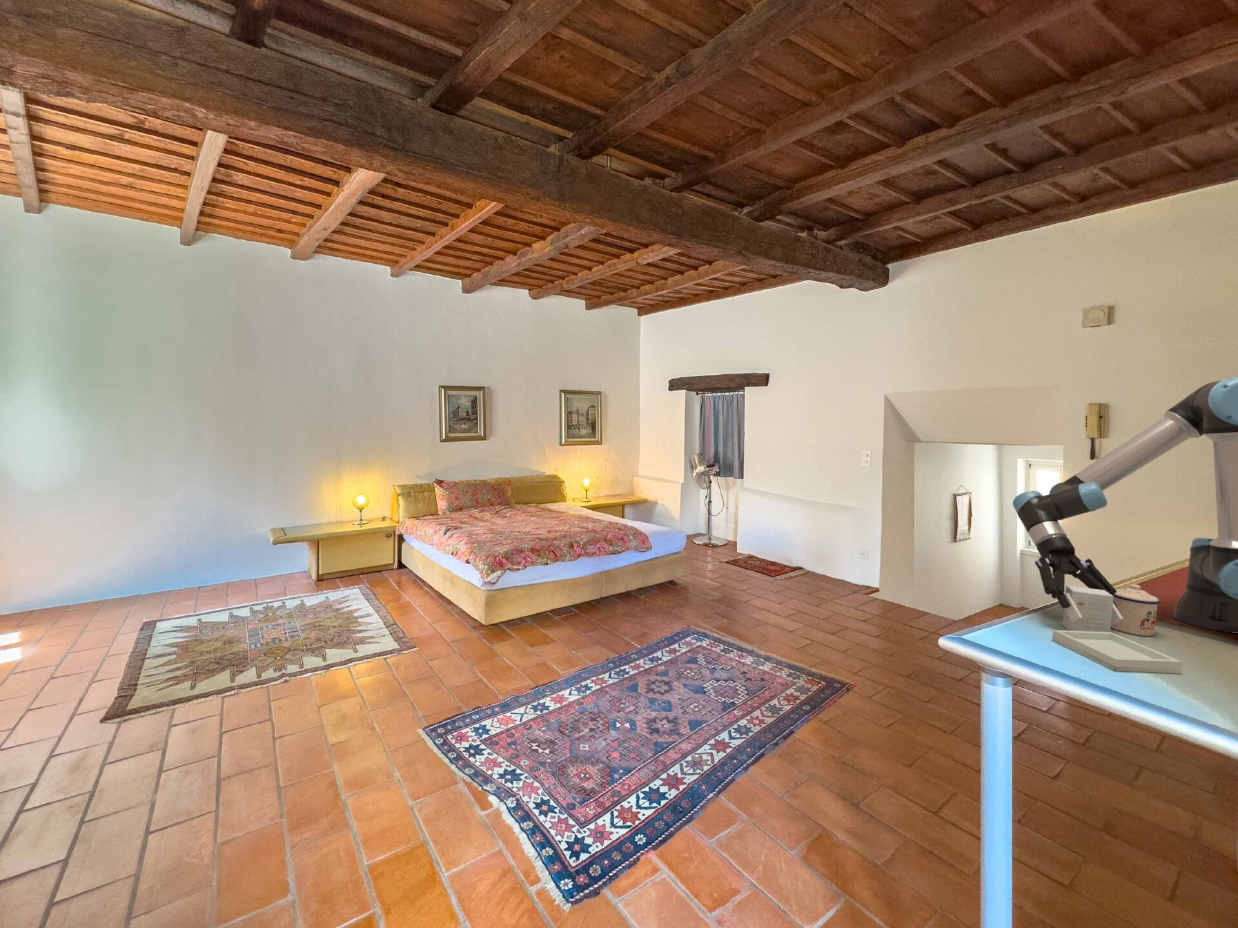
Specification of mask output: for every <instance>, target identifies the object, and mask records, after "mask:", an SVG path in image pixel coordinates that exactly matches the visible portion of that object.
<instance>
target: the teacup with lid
mask: <svg viewBox="0 0 1238 928" xmlns="http://www.w3.org/2000/svg"><path fill="white" fill-rule="evenodd" d="M1141 587H1142V586H1140V585H1139V584H1134V583H1132V584H1130V585H1129V587H1123V588H1120V589H1118V588H1117V589H1116V588H1115V590H1116V591H1117V592H1116V593H1115V594H1113V595H1112V596H1113V597H1114V598H1113V600H1114V602H1115V604H1116V605H1117V609H1118V611H1119V613H1120V614H1121V616H1122V617H1123V620H1121V621H1120V622H1118V623H1116V624H1112V622H1111V628H1110V629H1113V630H1117V631H1118V632H1122V633H1126V634H1130V635H1135V636H1143V637H1150V636H1153V635H1154V634H1155V630H1156V629H1155V628H1156V620H1157V614H1158V604H1160V600H1159V598H1158V597H1156V596H1155V595H1152V594H1150V593H1148V592H1147V591H1145V590H1143V589H1142V588H1141Z"/></svg>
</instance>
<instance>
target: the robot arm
mask: <svg viewBox="0 0 1238 928" xmlns="http://www.w3.org/2000/svg"><path fill="white" fill-rule="evenodd" d="M1203 435H1204V436H1205V437H1206V438H1208V439H1210V440H1211V441H1212V443H1213V444H1212V445H1213V446H1212V447H1213V464H1214V466H1213V468H1214V481H1215V499H1216V517H1217V518H1216V520H1217V537H1216V538H1207V537H1196V538H1193V540H1192V541H1191V546H1190V547H1189V551H1190V552H1189V560H1188V562H1189V563H1188V571H1187V578H1186V586H1185V591H1184V593H1183V595H1182V596H1181V598H1180V600H1179V601H1178V603H1177V605H1175V606H1174V610H1173V618H1175V619H1176V620H1178V621H1181V622H1183V623H1186V624H1189V625H1192V626H1195V627H1199V628H1202V629H1207V630H1212V631H1216V630H1219V631H1218V632H1221V631H1224V632H1223V633H1227V632H1238V376H1235V377H1229V378H1227V379H1223V380H1222V379H1221V380H1217V381H1213V382H1212V381H1211V382H1209V383H1206V384H1204V385H1202V386H1200V387H1198V388H1197V389H1195V390H1194V391H1193V392H1191V393H1190V394H1189V395H1187V396H1186V397H1184V398H1183V399H1182V400H1180V401H1178V403H1176V404H1174V406H1172V407H1171V408H1169V409H1167V410H1166V411H1165V412H1164V416H1163V418H1161V419H1159V420H1158V421H1157V422H1155V423H1154V424H1152V425H1150V426H1148V427H1147V428H1146V429H1144V430H1143V431H1141V432H1140V433H1138V434H1136V435H1135V436H1133V437H1131V438H1130V439H1128V440H1126V441H1125V442H1123V443H1122V444H1120V445H1118V446H1117V447H1116V448H1114V449H1113V450H1111V451H1110V452H1108V453H1106V454H1105V455H1103V456H1102V457H1100V458H1099V459H1097V460H1095V461H1094V462H1092V463H1091V464H1089V465H1087V466H1086V467H1084V468H1083V469H1082V470H1080V471H1079V472H1077V473H1075V474H1074V475H1072V476H1071V477H1069V478H1067V479H1065V481H1063V482H1059V483H1057V484H1054V485H1053V486H1052V487H1051V488H1050V490H1049V493H1048V494H1046V495H1043V494H1042V493H1041V492H1039V491H1037V490H1030V491H1024V492H1021V493H1019V494H1018V495H1016V496H1015V498H1013V501H1012V506H1013V508H1014V510H1015V512H1016V514H1017V516H1018V519H1020V522H1021V523H1022V525H1023V527H1024V528H1025V531H1026V532H1027V534H1028V536H1029V538H1030V539H1031V541H1032V542H1033V544H1034V545H1035V547H1036V550H1037V552H1038V553H1039V555H1040V557H1039V558H1038V559H1036V560H1035V561H1034V564H1035V566H1036V567H1037V568H1038V572H1039V575H1040V578H1041V583H1042V586H1043V589H1044V593H1045V594H1046V595H1048V596H1049V595H1050V597H1051V598H1052V599H1054V600H1055V599H1057V601H1058V602H1059V605H1060V606H1061V608H1063V609H1064V608H1065V610H1066V612H1067V614H1068V616H1069V617H1070V619H1071V621H1072V622H1076V621H1078V620H1080V619H1081V618H1083V617H1082V615H1081V614H1080V612H1079V610H1078V608H1077V607H1076V605H1075V603H1074V601H1073V600H1072V598H1071V596H1070V594H1069V593H1065V592H1066V586H1065V584H1066V583H1065V582H1066V581H1065V579H1066V578H1065V576H1066V575H1069V576H1072V577H1073V578H1074V579H1078V580H1079V581H1080V582H1081V583H1082V584H1083V585H1085V586H1086V588H1091V589H1099V590H1105V591H1106V592H1108V593H1109V594H1111V595H1113V594H1115V593H1116V592H1117V591H1116V590H1115V589H1116V588H1115V587H1114V586H1113V585H1112V584H1111V582H1109V580H1107V578H1106V577H1105V576H1104V575H1103V574H1102V573H1101V571H1099V569H1098V568H1097V567H1096V566H1095V563H1094V562H1093V560H1092V559H1090V558H1087V559H1086V560H1085V559H1084V560H1083V559H1080V558H1079V557H1078V556H1077V555H1076V548H1075V547H1074V545H1073V543H1072V541H1071V540H1070V539H1069V538H1068V535H1067V533H1066V532H1065V530H1064V529H1063V527H1062V525H1061V524H1060V522H1059V521H1063V520H1065V519H1069V518H1072V517H1076V516H1080V515H1082V514H1087V513H1090V512H1095V511H1097V510H1100V509H1103V508H1105V507H1107V505H1108V500H1107V498H1106V496H1105V494H1104V491H1105V490H1107V489H1109V488H1110V487H1112V486H1113V485H1116V484H1118V482H1120V481H1121V480H1124V478H1125V479H1126V477H1128V476H1130V475H1131V474H1133V473H1134V472H1136V471H1138V470H1140V469H1142V468H1143V467H1145V466H1146V465H1148V464H1150V463H1151V462H1153V461H1155V460H1156V459H1157V458H1160V457H1161V456H1163V455H1164V454H1166V453H1167V452H1170V451H1171V450H1172V449H1174V448H1176V447H1177V446H1179V445H1180V444H1182V443H1183V442H1185V441H1187V440H1189V439H1199V438H1201V436H1203ZM1121 620H1123V617H1122V616H1121V614H1120V613H1119V611H1118V609H1117V605H1116V604H1115V602H1114V600H1113V608H1112V617H1111V622H1112V624H1116V623H1118V622H1120V621H1121ZM1225 631H1226V632H1225Z"/></svg>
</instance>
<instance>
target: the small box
mask: <svg viewBox="0 0 1238 928" xmlns="http://www.w3.org/2000/svg"><path fill="white" fill-rule="evenodd" d="M1065 593H1069V594H1070V596H1071V598H1072V600H1073V601H1074V603H1075V605H1076V607H1077V608H1078V610H1079V612H1080V614H1081V615H1082V617H1083V618H1081V619H1080V620H1078V621H1076V622H1072V621H1071V619H1070V617H1069V616H1068V614H1067V612H1066V610H1065V608H1063V616H1062V626H1063V627H1064V628H1065V629H1066V630H1067V629H1068V630H1069V631H1090V632H1111V629H1112V628H1111V617H1112V608H1113V598H1114V597H1113V596H1112V595H1111V594H1109V593H1108V592H1106V591H1105V590H1099V589H1091V588H1088V587H1079V586H1074V585H1073V586H1072V585H1066V586H1065V592H1064V594H1065ZM1068 630H1067V631H1068Z"/></svg>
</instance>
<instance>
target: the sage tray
mask: <svg viewBox="0 0 1238 928" xmlns="http://www.w3.org/2000/svg"><path fill="white" fill-rule="evenodd" d="M1051 641H1053V642H1055V643H1056V644H1059V645H1061V646H1062V647H1065V648H1067V649H1069V650H1071V651H1072V652H1075V653H1076V654H1079V655H1081V656H1083V657H1086V658H1088V659H1089V660H1091V661H1093V662H1095V663H1097V664H1100V665H1101V666H1104V667H1105V668H1107V669H1110V670H1112V671H1113V672H1129V673H1130V672H1131V673H1132V672H1134V673H1153V674H1154V673H1156V674H1182V667H1183V661H1181V660H1178V659H1176V658H1174V657H1171V656H1170V655H1167V654H1164V653H1162V652H1159V651H1158V650H1155V649H1152V648H1150V647H1148V646H1146V645H1143V644H1140V643H1139V642H1135V641H1133V640H1131V639H1129V638H1126V637H1124V636H1121V635H1119V634H1116V633H1114V632H1111V631H1110V632H1090V631H1068V630H1061V629H1059V630H1057V629H1056V630H1055V629H1052V638H1051Z"/></svg>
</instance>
